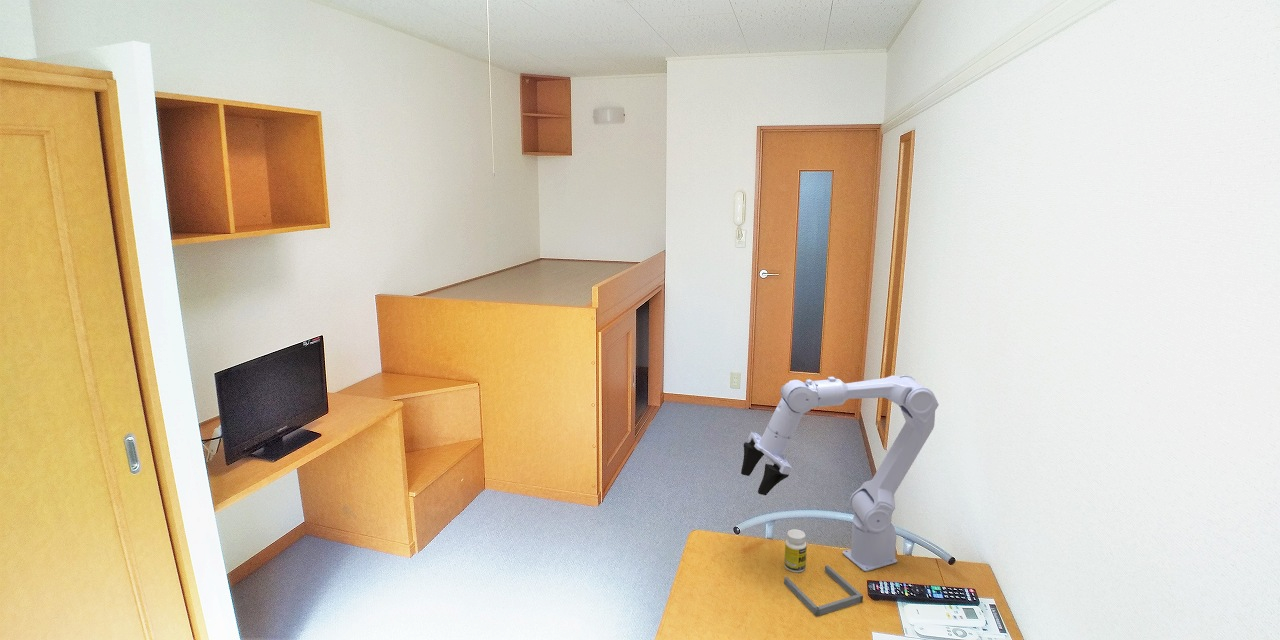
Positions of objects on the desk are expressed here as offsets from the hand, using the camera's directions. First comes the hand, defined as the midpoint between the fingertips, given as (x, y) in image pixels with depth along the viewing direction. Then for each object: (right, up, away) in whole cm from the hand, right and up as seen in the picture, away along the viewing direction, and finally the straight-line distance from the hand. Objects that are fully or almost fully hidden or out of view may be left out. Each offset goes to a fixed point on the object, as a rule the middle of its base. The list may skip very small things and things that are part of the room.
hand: (753, 484), depth 142 cm
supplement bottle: (+10, -20, +3) cm, 22 cm away
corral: (+14, -22, -6) cm, 26 cm away
